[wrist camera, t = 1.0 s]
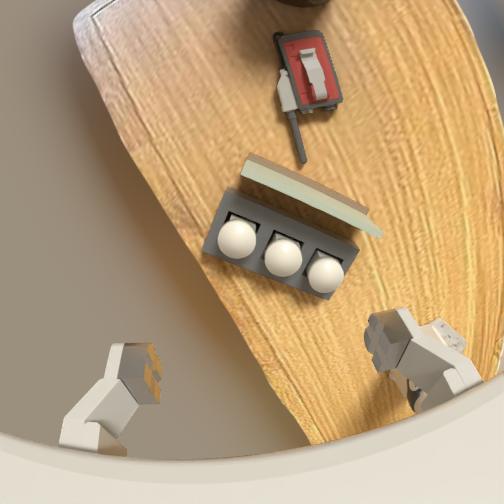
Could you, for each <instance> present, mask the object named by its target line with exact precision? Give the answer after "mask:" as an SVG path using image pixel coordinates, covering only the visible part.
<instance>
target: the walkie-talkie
mask: <svg viewBox="0 0 504 504" xmlns="http://www.w3.org/2000/svg"><path fill="white" fill-rule="evenodd" d="M276 35H281V37H280V39H279V41H278V43H277V40H276ZM273 40H274V43H275V46H276V49H277V52H278V55H279V58H280V62H281V66H280V71H279V72H280V75H281V77H280V80H279V82H278V84H277V87H276V89H277V92H278V95H279V99H280V102H281V106H282V107H281V110H282V112H286V114H287V118H288V120H289V121H290V125H291V128H292V132H293V136H294V140H295V144H296V147H297V151H298V155H299V159H300V162H301V163H302V164H305V163H306V162H307V158H306V154H305V150H304V146H303V142H302V139H301V135H300V131H299V127H298V124H297V120H296V118H297V116H296V112H295V109H298V110H299V111H300V112H301V113H302V114H307V111H308V113H312V112H314V111H313V109H314V108H317V107H322V106H324V108H323V111H329V110H335V109H337V106H336V105H334V104H338V103H342V101H343V97H342V93H341V90H340V86H339V82H338V79H337V76H336V72H335V71H334V67H333V64H332V60H331V57H330V53H329V52H328V51H329V50H328V49H327V48H328V47H327V46H326V43H325V40H324V36H323V33H321V32H320V31H318V30H311V31H304V32H298V33H293V34H287V35H284V34H283V33H282V32H275V33H274V35H273ZM284 65H285V69H286V71H285V69H283V66H284Z"/></svg>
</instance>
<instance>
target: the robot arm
mask: <svg viewBox="0 0 504 504" xmlns="http://www.w3.org/2000/svg"><path fill="white" fill-rule="evenodd" d="M368 322H369V324H370V325H369V326H368V327H367V328H366V329H365V333H364V342H365V346H366V348H367V350H368V352H370V353H371V354H373V357H372V361H373V364H374V366H375V368H376V370H377V372H378V373H379V372H383V371H387V370H390V372H389V378H390V379H391V380H392V381H395V382H396V384H397V386H398V387H399V389H400V391H401V393H402V395H403V397H404V398H407V399H408V402H409V405H410V406H411V408H412V410H413V411H414V412H415V413H416V414H415V415H413V416H410V417H407V418H405V419H402V420H399V421H397V422H394V423H391V424H388V425H385V426H382V427H379V428H376V429H373V430H369V431H366V432H363V433H359V434H356V435H352V436H348V437H345V438H341V439H337V440H333V441H329V442H324V443H320V444H315V445H311V446H306V447H301V448H295V449H290V450H284V451H277V452H270V453H263V454H255V455H246V456H236V457H223V458H205V459H152V458H134V457H127V449H126V448H125V447H124V446H123V445H122V444H121V443H120V442H118V441H117V440H116V439H117V437H118V436H119V434H120V433H121V431H122V430H123V428H124V427H125V426H126V424H127V422H128V421H129V419H130V418H131V417H132V415H133V414H134V412H135V411H136V409H137V408H138V406H139V405H138V404H159V403H160V391H161V389H160V387H159V385H158V382H159V381H160V380H161V378H162V369H161V362H160V359H159V357H158V356H157V355H156V354H154V346H153V344H152V343H114V344H113V345H112V346H111V349H110V353H109V357H108V361H107V366H106V370H105V375H104V379H100V380H99V381H98V382H97V383H96V384H95V385H94V386H93V387H92V388H91V389H90V390H89V392H87V394H86V395H85V396H84V397H83V398H82V399H81V400H80V401H79V402H78V403H77V404H76V405H75V406H74V408H73V409H72V410H71V411H70V412H69V413H68V414H67V415H66V416H65V417H64V421H63V426H62V431H61V436H60V441H59V446H58V447H56V446H52V445H47V444H43V443H39V442H35V441H31V440H27V439H24V438H20V437H17V436H14V435H10V434H7V433H4V432H1V431H0V504H504V371H503V372H501V373H499V374H498V375H496V376H494V377H493V378H491V379H489V380H487V381H485V382H483V380H482V378H481V377H480V375H479V373H478V372H477V370H476V368H475V367H474V365H473V363H472V362H471V360H470V359H469V358H467V357H465V355H464V354H463V350H464V348H465V346H466V343H467V342H466V340H465V338H463V337H462V336H461V335H460V334H459V333H458V332H457V331H456V330H455V329H454V328H452V327H451V326H450V325H449V324H448V323H447V322H446V321H445V320H444V319H442V318H437V319H435V320H434V321H432V322H431V323H429V324H426V325H423V326H418V324H417V323H416V321H415V320H414V318H413V316H412V315H411V313H410V312H409V310H408V309H407V308H406V307H401V308H396V309H391V310H386V311H382V312H378V313H373V314H371V315H370V316H369V319H368Z"/></svg>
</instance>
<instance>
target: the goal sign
mask: <svg viewBox="0 0 504 504" xmlns="http://www.w3.org/2000/svg"><path fill="white" fill-rule="evenodd" d="M240 175H242V176H245V177H247V178H250V179H252V180H254V181H256V182H258V183H260V184H263V185H265V186H268V187H271V188H273V189H275V190H278V191H280V192H282V193H285V194H287V195H289V196H291V197H293V198H296V199H298V200H300V201H302V202H305V203H306V204H308V205H310V206H312V207H314V208H317V209H319V210H322V211H324V212H326V213H328V214H330V215H332V216H334V217H337V218H339V219H341V220H343V221H345V222H347V223H349V224H351V225H352V226H354V227H356V228H358V229H360V230H363V231H365V232H367V233H369V234H371V235H373V236H375V237H377V238H379V239H380V238H381V237H382V235H383V232H382V231H381V230H380V229H379V227H378V226H377V225H376V224H375V223H374V222H373V221H372V220H371V219H370V218H369V217H368V216H367V213H368V212H369V209H368V208H367V207H365V206H363V205H361V204H359V203H357V202H355V201H353V200H351V199H350V198H348V197H346V196H344V195H342V194H340V193H338V192H336V191H334V190H332V189H330V188H328V187H326V186H324V185H321V184H319V183H317V182H315V181H313V180H311V179H309V178H307V177H305V176H303V175H300V174H298V173H296V172H294V171H292V170H289V169H287V168H285V167H283V166H281V165H278V164H276V163H274V162H271V161H269V160H267V159H265V158H262V157H260V156H257V155H255V154H253V153H249V156H248V158H247V160H246V162H245V165H244V167H243V169H242V172H241V174H240Z"/></svg>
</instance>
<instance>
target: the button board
mask: <svg viewBox="0 0 504 504" xmlns="http://www.w3.org/2000/svg"><path fill="white" fill-rule="evenodd" d="M228 211H230V212H233V213H235V214H238V215H240V216H243V217H245V218H247V219H250V220H252V221H255V222H257V223H259V224H258V226H257V228H256V230H255V232H256V245H255V248H254V250H253V251H252V253H251V254H249V255H248V256H246V257H244V258H240V259H235V258H230V257H228V256H226V255H225V254H224V253H223V252H222V251H221V250H220V248H219V246H218V235H219V232H220V229H221V227H222V226H223V223H224V221H225V219H226V216H227V214H228ZM273 230H276V231H279V232H281V233H283V234H286V235H288V236H290V237H293V238H295V239H297V240H299V245H300V251H301V255H302V264H301V266H300V268H299V269H298V271H297V272H295V273H294V274H292V275H290V276H286V277H280V276H276V275H274V274H272V273H271V272H270V271H269V270H268V269H267V267H266V265H265V252H264V249H265V247H266V245H267V243H268V241H269V239H270V237H271V235H272V232H273ZM316 248H318V249H320V250H323V251H325V252H327V253H330V254H332V255H334V256H336V258H337V259H338V261H339V263H340V265H341V268H342V270H343V272H344V276H345V274H346V272H347V271H348V269H349V267H350V266H351V264H352V262H353V261H354V259H355V257H356V256H357V254H358V252H359V251H360V249H359V248H358V246H357V245H356V244H355V242H353V241H351V240H349V239H346V238H344V237H342V236H340V235H338V234H336V233H334V232H331V231H329V230H327V229H325V228H323V227H321V226H318V225H316V224H314V223H312V222H310V221H307V220H305V219H303V218H301V217H298V216H296V215H294V214H292V213H289V212H287V211H285V210H282V209H280V208H278V207H276V206H273V205H271V204H269V203H266V202H264V201H262V200H259V199H257V198H254V197H252V196H250V195H247V194H245V193H242V192H240V191H238V190H235V189H233V188H230V187H227V189H226V191H225V193H224V196H223V198H222V201H221V203H220V206H219V208H218V210H217V213H216V215H215V218H214V220H213V223H212V225H211V228H210V231H209V233H208V236H207V238H206V241H205V243H204V246H203V248H202V251H203V252H205V253H208V254H210V255H213V256H215V257H218V258H220V259H223V260H225V261H228V262H230V263H233V264H235V265H238V266H240V267H243V268H245V269H248V270H250V271H253V272H256V273H258V274H261V275H263V276H266V277H268V278H271V279H274V280H276V281H279V282H281V283H284V284H286V285H289V286H292V287H294V288H297V289H299V290H302V291H305V292H307V293H310V294H313V295H315V296H318V297H320V298H323V299H326V300H328V301H329V299H330V298H331V296H332V295H333V293H334V292H335V290H334V291H332V292H329V293H320V292H317V291H315V290H314V289H313V288H312V287H311V285H310V282H309V279H308V277H307V273H306V268H305V267H306V266H307V264H308V262H309V260H310V258H311V257H312V255H313V253H314V251H315V249H316Z"/></svg>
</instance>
